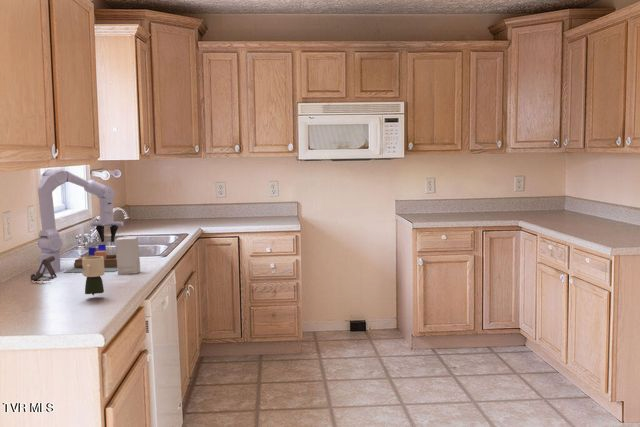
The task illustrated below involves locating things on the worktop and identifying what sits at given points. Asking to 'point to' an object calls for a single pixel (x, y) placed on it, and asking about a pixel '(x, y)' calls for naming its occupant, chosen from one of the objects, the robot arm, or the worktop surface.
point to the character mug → (93, 274)
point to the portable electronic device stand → (47, 264)
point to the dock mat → (80, 270)
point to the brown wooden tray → (108, 262)
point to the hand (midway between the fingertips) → (107, 241)
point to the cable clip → (100, 248)
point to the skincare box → (127, 255)
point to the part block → (101, 254)
